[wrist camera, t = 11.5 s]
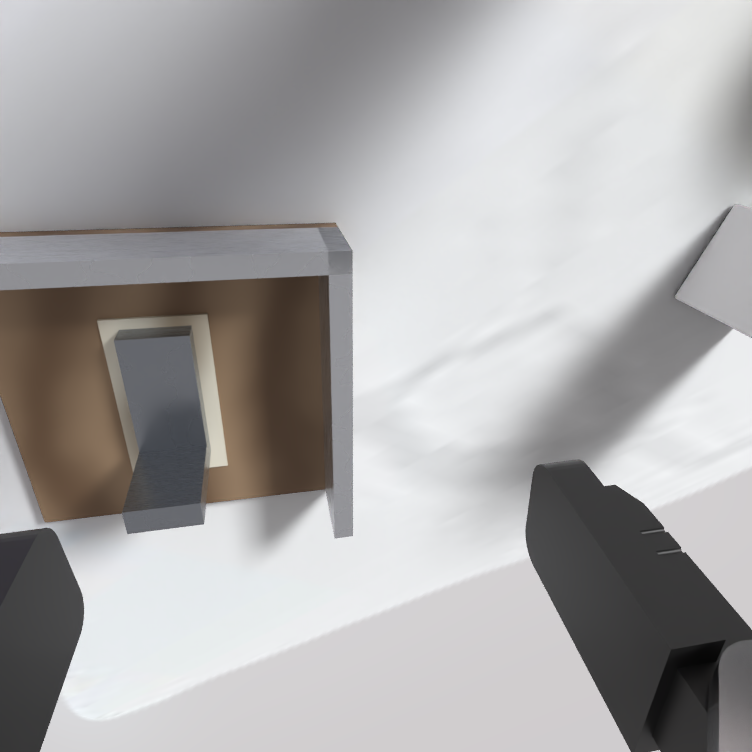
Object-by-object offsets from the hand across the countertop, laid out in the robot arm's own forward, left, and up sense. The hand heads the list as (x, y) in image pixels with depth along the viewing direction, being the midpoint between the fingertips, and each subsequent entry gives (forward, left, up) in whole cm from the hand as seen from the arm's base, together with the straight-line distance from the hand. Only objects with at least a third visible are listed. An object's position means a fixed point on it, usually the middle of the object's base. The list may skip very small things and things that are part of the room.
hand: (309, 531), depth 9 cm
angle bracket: (+7, +11, -24) cm, 27 cm away
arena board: (+6, +10, -26) cm, 28 cm away
